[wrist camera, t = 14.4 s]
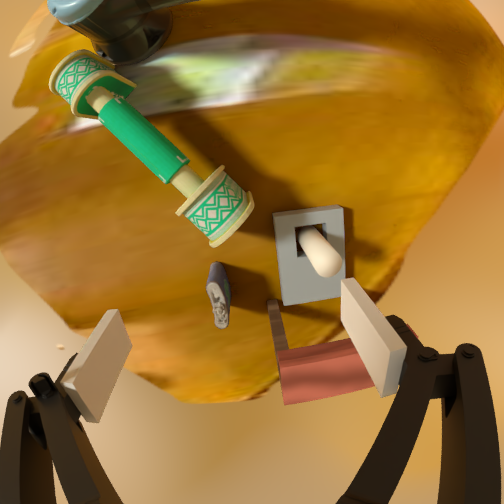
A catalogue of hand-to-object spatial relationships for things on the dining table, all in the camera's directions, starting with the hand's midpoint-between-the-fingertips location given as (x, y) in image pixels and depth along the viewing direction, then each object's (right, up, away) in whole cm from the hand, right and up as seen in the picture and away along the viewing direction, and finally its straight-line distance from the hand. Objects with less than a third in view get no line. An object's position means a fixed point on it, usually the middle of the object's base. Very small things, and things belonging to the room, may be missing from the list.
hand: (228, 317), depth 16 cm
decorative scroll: (-14, +23, +31) cm, 41 cm away
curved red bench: (+13, -3, +41) cm, 43 cm away
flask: (-4, -2, +40) cm, 40 cm away
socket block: (+12, +3, +38) cm, 40 cm away
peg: (+11, +7, +37) cm, 39 cm away
